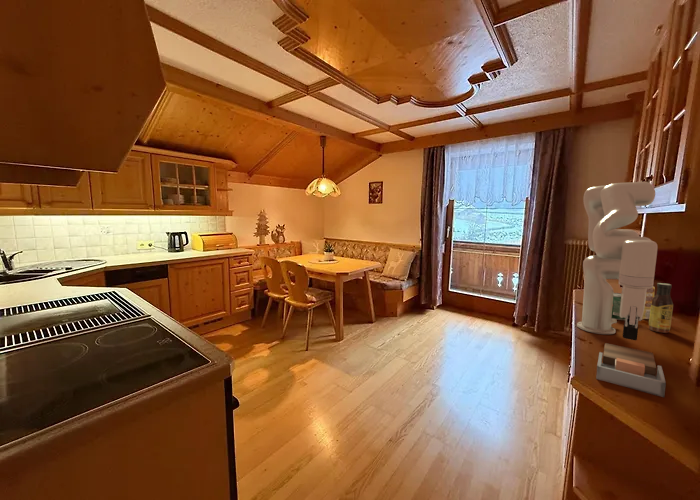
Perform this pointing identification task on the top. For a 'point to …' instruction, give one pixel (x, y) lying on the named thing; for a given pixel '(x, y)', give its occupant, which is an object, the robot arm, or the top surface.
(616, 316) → the canned tomato
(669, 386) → the top surface
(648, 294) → the candy box
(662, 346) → the top surface
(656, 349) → the top surface
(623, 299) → the robot arm
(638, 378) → the tray
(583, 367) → the top surface
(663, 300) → the sauce bottle
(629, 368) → the terracotta tile
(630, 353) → the walnut board
